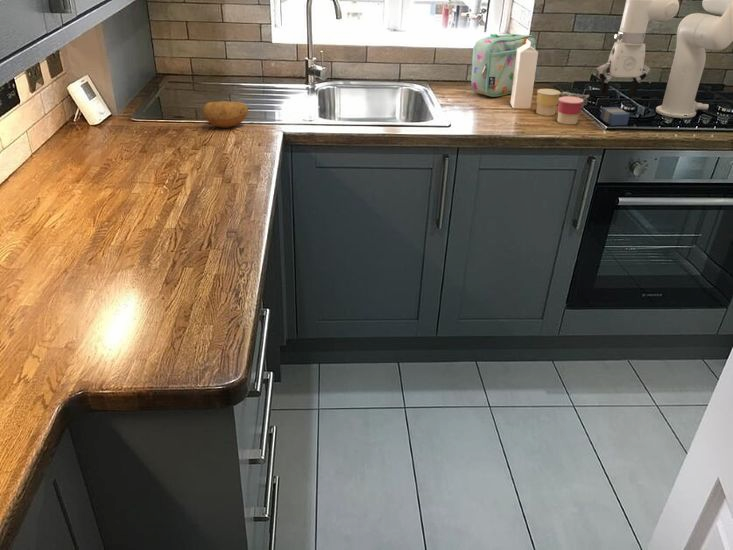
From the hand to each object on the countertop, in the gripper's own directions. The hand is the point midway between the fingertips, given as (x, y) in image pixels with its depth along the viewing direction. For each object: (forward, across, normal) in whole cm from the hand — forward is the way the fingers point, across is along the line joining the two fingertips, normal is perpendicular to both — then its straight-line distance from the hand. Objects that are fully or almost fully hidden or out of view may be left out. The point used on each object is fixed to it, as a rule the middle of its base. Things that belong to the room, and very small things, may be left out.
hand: (617, 94), depth 195 cm
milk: (+10, -24, +21) cm, 33 cm away
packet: (+9, +1, 0) cm, 9 cm away
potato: (+12, -124, +9) cm, 125 cm away
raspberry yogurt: (+9, -14, +2) cm, 17 cm away
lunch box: (+9, -25, +40) cm, 48 cm away
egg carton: (+9, -5, +21) cm, 24 cm away
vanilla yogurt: (+9, -18, +12) cm, 23 cm away
